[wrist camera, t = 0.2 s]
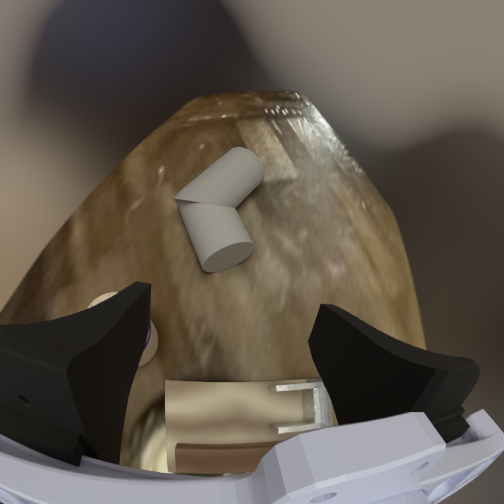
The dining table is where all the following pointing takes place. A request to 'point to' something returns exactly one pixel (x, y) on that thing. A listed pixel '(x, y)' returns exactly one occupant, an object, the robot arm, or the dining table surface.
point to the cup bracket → (308, 407)
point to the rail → (220, 457)
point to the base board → (227, 413)
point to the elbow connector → (220, 209)
